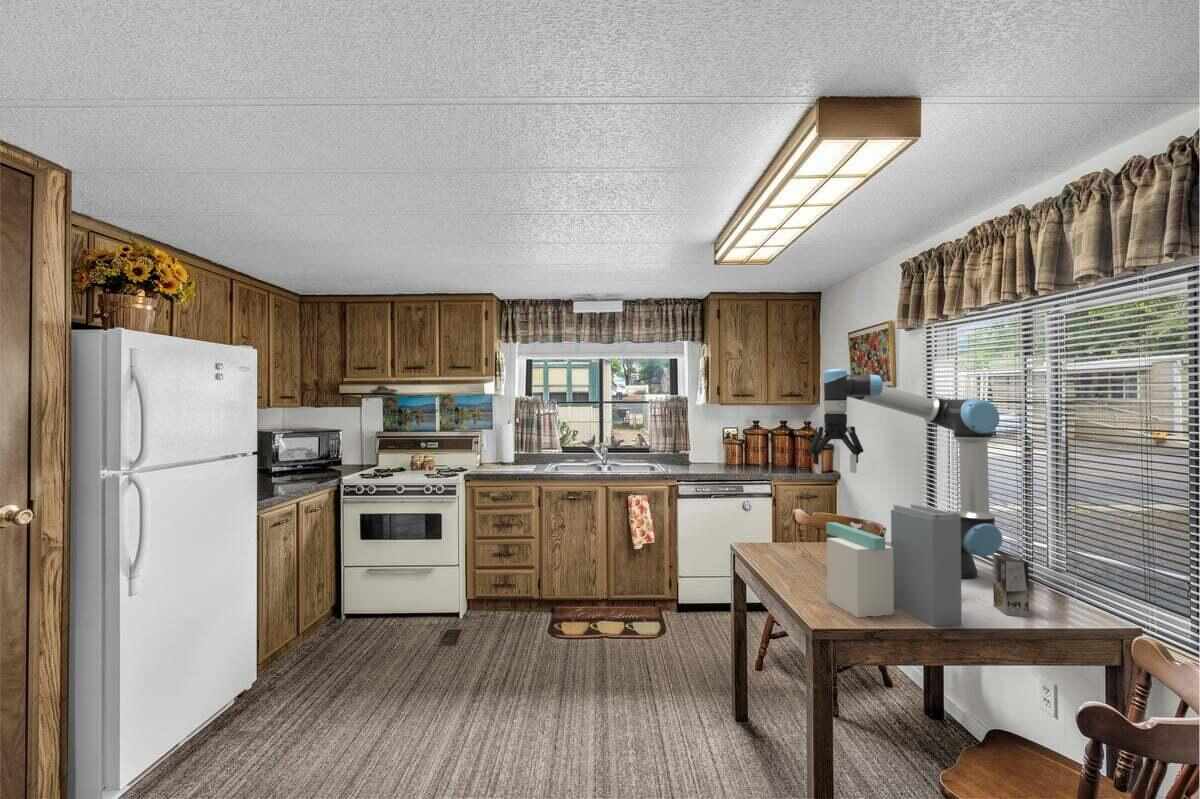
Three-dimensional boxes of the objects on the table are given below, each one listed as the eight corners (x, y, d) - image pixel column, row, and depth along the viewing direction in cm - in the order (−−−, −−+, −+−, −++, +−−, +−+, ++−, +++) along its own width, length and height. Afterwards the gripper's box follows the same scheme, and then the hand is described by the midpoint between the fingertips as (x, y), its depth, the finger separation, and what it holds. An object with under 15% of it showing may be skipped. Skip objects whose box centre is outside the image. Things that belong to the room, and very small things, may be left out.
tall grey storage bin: (917, 604, 191) (916, 504, 192) (961, 624, 174) (960, 513, 174) (891, 606, 190) (890, 504, 190) (933, 626, 172) (932, 514, 172)
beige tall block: (861, 598, 198) (860, 536, 198) (893, 614, 182) (893, 547, 182) (827, 600, 195) (826, 538, 196) (857, 617, 180) (857, 549, 180)
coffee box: (1030, 617, 180) (1029, 562, 180) (1005, 615, 181) (1005, 561, 182) (1015, 607, 189) (1015, 554, 189) (992, 605, 190) (992, 553, 190)
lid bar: (835, 532, 204) (835, 522, 204) (885, 550, 179) (885, 538, 179) (826, 533, 204) (826, 522, 204) (874, 550, 179) (874, 538, 179)
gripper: (808, 413, 209) (809, 475, 209) (873, 412, 214) (874, 473, 214) (797, 413, 217) (797, 472, 217) (860, 412, 222) (861, 471, 221)
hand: (835, 473), depth 215 cm, fingers open, 13 cm apart
